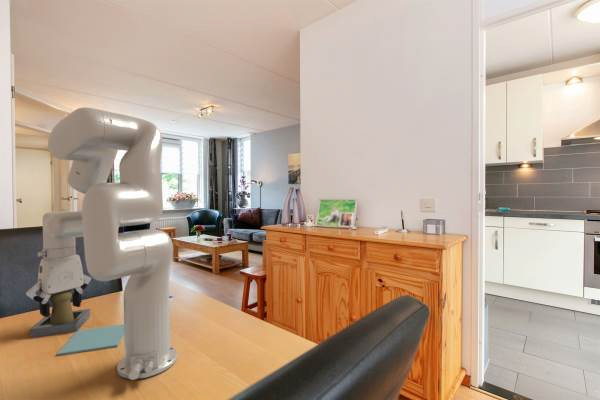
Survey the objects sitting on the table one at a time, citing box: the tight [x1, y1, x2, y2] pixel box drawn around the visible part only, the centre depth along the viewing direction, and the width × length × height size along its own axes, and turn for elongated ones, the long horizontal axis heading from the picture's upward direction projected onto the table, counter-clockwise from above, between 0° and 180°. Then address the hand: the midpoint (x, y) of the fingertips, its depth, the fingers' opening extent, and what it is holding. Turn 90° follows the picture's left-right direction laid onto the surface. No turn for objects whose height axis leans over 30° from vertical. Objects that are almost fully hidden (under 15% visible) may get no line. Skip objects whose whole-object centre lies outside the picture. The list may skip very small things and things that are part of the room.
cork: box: [49, 289, 74, 324], centre depth 89 cm, size 6×6×11 cm
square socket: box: [29, 308, 91, 339], centre depth 89 cm, size 11×11×2 cm
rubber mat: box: [57, 323, 124, 356], centre depth 81 cm, size 13×13×1 cm
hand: (61, 310), depth 89 cm, fingers open, 7 cm apart
